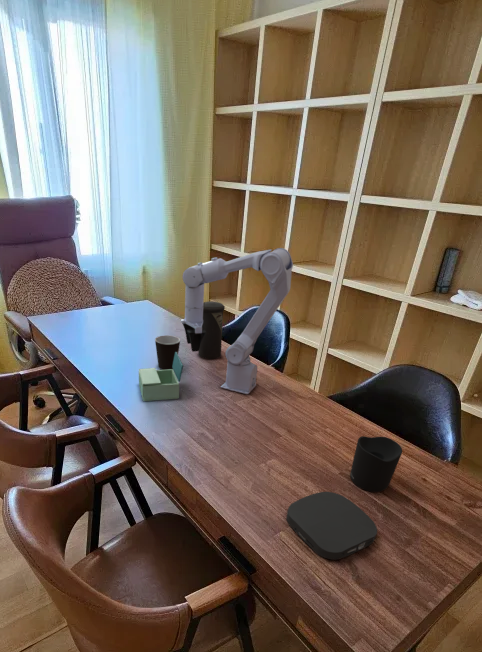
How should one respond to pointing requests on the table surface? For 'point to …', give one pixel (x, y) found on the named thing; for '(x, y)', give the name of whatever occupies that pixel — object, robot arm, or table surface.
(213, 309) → the container
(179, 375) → the lid
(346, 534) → the media streaming box
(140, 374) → the box
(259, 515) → the table surface
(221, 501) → the table surface
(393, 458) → the pen holder
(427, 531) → the table surface
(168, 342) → the coffee mug
